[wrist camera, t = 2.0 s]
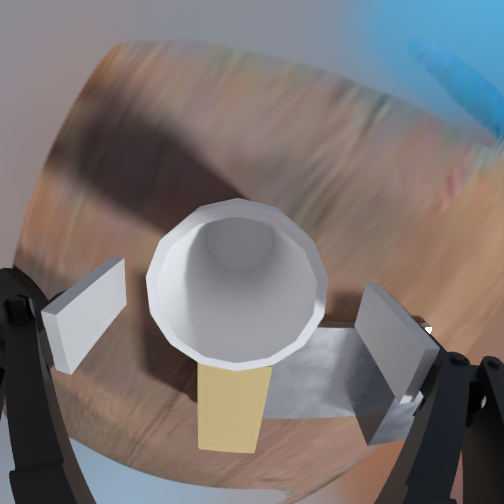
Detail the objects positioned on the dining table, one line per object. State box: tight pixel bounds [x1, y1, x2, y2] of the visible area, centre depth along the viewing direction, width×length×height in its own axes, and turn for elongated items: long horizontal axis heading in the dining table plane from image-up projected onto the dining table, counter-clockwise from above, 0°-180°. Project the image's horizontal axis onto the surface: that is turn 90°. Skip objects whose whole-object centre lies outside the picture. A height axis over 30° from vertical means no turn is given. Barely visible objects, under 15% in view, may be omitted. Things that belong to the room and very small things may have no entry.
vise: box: [262, 321, 436, 446], centre depth 28 cm, size 26×14×8 cm, turn 84°
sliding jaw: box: [198, 363, 272, 453], centre depth 27 cm, size 6×13×6 cm, turn 174°
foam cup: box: [146, 198, 329, 371], centre depth 21 cm, size 10×9×13 cm
